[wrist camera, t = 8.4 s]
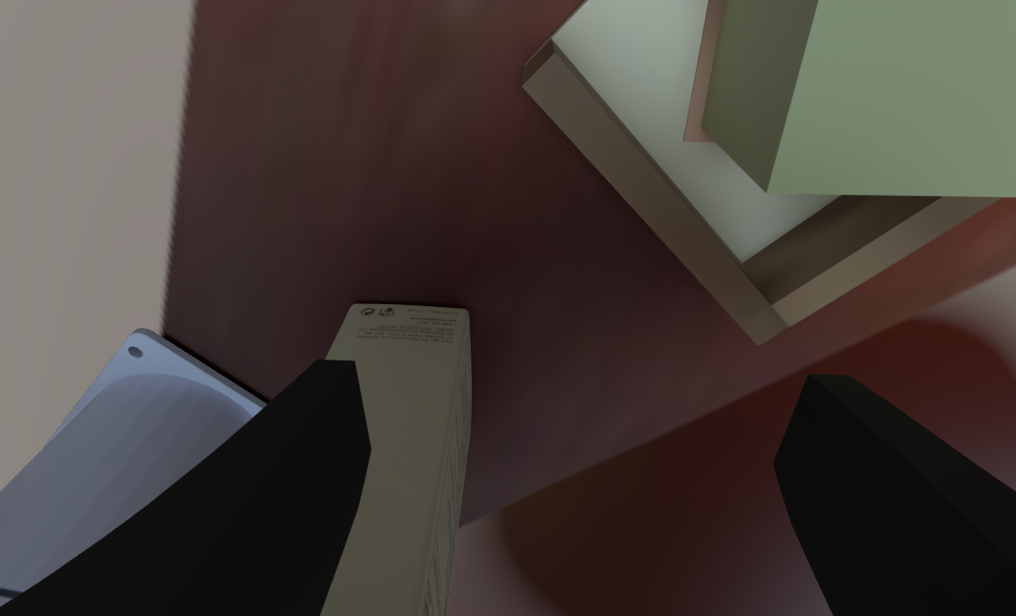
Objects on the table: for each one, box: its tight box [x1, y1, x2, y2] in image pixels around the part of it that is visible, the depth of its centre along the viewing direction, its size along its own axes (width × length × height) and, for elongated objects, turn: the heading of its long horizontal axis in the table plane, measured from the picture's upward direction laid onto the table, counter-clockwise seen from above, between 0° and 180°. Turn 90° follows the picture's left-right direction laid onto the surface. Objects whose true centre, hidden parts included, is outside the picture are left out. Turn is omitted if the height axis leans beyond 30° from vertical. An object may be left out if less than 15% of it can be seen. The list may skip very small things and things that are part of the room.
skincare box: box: [320, 304, 472, 616], centre depth 16 cm, size 6×4×12 cm
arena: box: [522, 0, 1002, 346], centre depth 13 cm, size 11×10×3 cm
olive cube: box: [701, 0, 1016, 197], centre depth 11 cm, size 5×5×5 cm
